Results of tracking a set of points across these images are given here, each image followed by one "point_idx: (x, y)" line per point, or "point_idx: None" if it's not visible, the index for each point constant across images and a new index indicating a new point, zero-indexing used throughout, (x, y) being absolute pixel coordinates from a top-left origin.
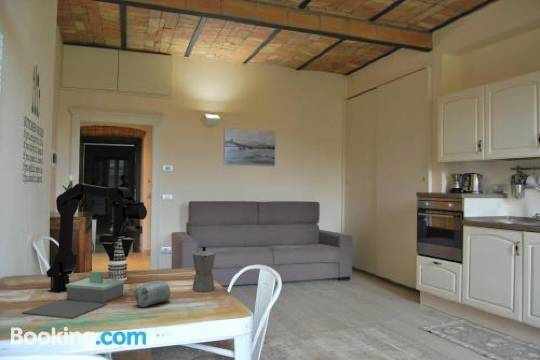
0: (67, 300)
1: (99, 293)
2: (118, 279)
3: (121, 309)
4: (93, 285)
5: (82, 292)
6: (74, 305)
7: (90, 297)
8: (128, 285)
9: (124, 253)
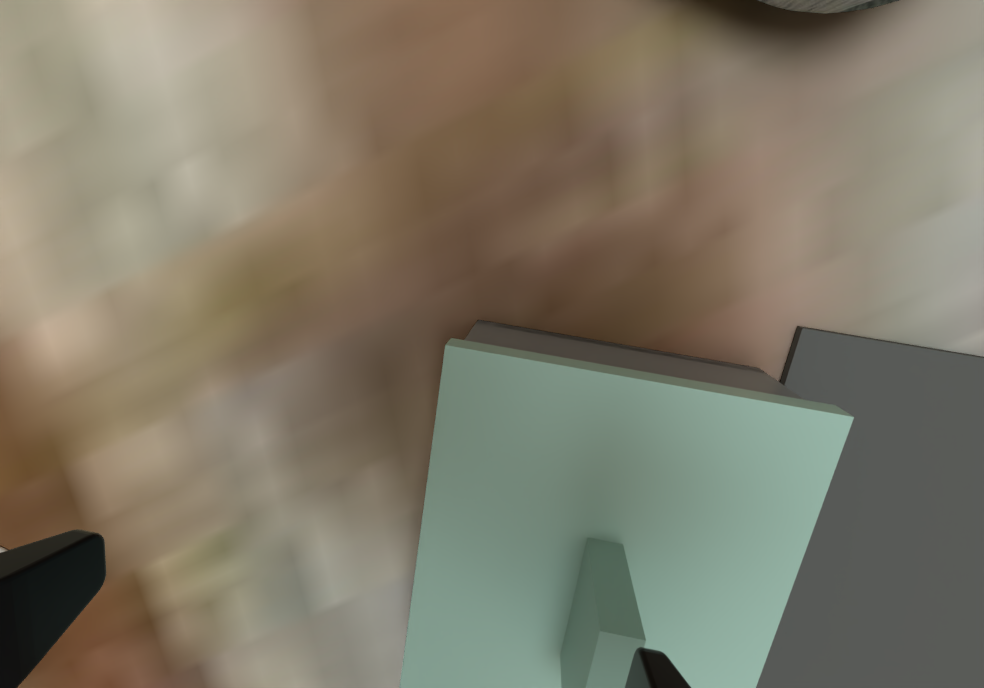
0: None
1: None
2: None
3: (958, 117)
4: (745, 567)
5: None
6: (853, 553)
7: None
8: (129, 433)
9: (29, 658)
